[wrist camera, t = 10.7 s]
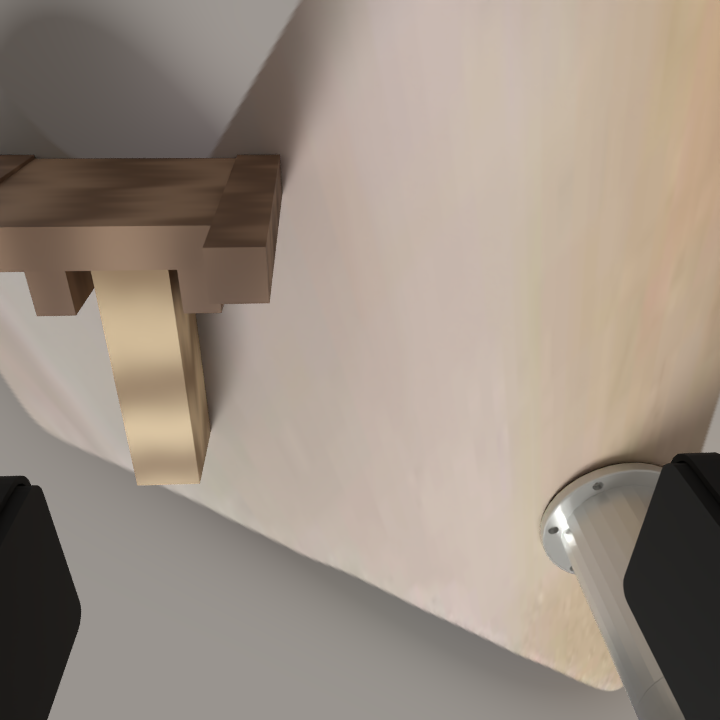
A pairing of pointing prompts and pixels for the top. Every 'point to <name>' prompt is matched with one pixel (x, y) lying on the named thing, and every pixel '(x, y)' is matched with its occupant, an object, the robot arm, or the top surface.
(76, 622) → the robot arm
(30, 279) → the headboard
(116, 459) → the top surface
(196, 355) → the rail
